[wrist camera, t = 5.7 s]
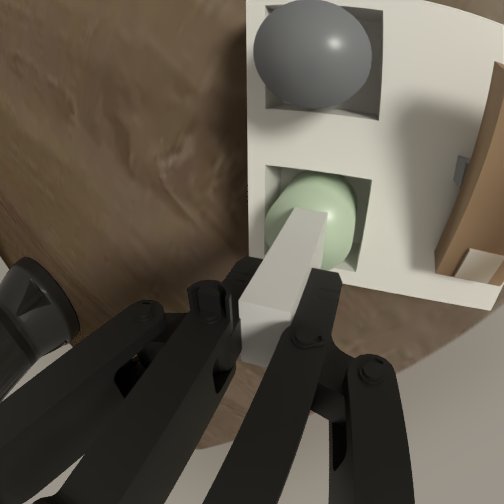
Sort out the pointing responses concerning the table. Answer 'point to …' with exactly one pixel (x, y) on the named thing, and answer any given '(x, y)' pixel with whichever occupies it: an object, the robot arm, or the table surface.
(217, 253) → the table surface
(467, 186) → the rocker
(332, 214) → the button sage
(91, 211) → the table surface
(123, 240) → the table surface
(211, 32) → the table surface
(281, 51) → the button graphite
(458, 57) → the panel
